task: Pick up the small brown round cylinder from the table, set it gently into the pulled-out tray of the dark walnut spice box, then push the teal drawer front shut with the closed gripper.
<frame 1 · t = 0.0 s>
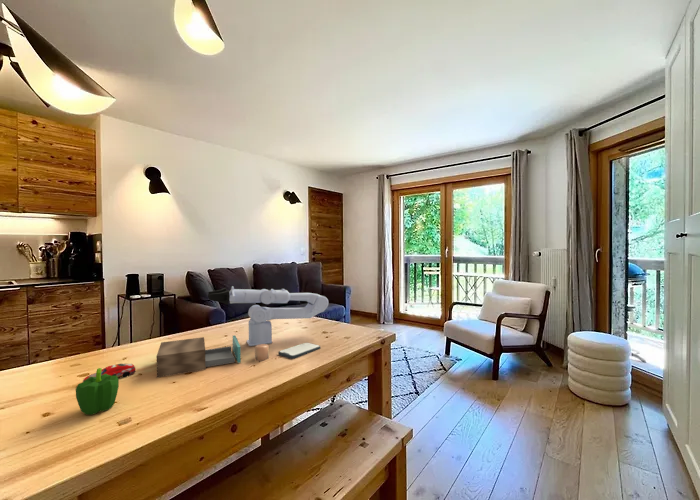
hand: (208, 295, 124), 22 cm above the table, tool horizontal, fingers open, 7 cm apart
spice box: (182, 365, 108), on the table
race car: (110, 380, 97), on the table
phone case: (300, 352, 122), on the table
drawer: (217, 351, 113), point 3 cm above the table, slide at 10.0 cm
brown round cylinder: (261, 358, 114), on the table
bell pepper: (99, 410, 78), on the table
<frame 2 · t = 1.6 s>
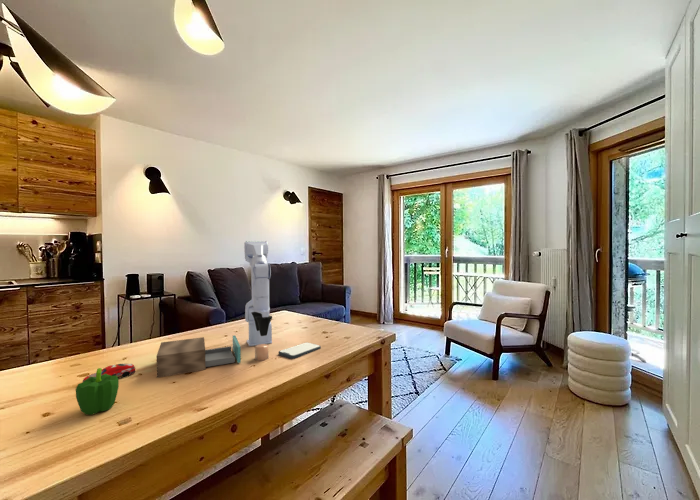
hand: (261, 332, 114), 9 cm above the table, tool pointing down, fingers open, 7 cm apart
nothing on the table moved.
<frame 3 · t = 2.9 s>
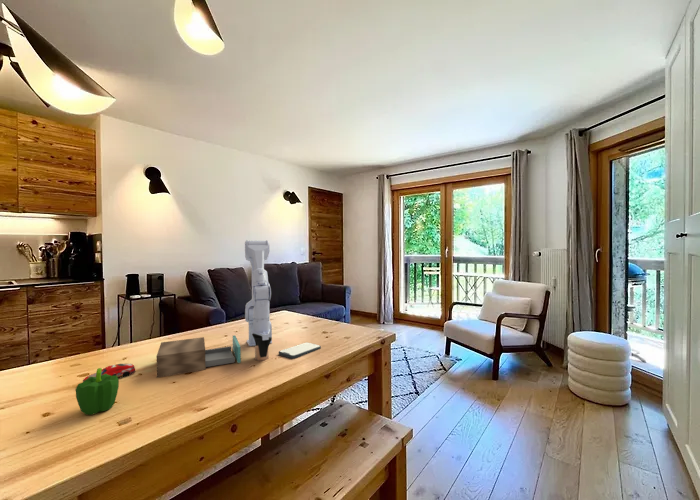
hand: (261, 354, 114), 1 cm above the table, tool pointing down, fingers closed on brown round cylinder, 5 cm apart
brown round cylinder: (261, 358, 114), on the table, touching gripper
everything else where it was.
when the fingers open (4 cm above the table, at t = 7.0 s): brown round cylinder drops 1 cm, resting on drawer.
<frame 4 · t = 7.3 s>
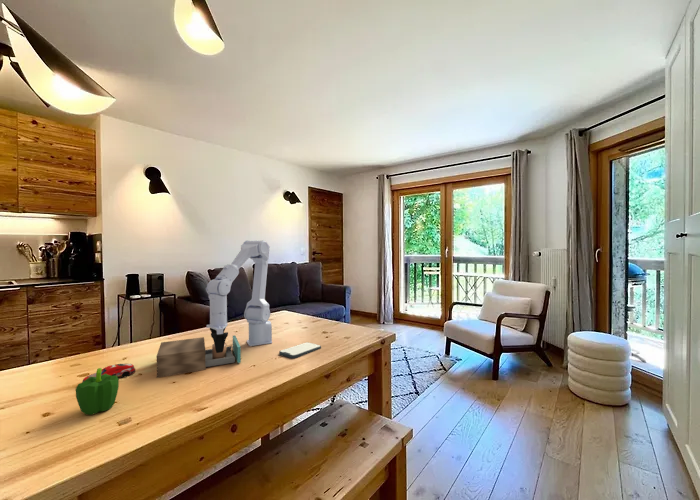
hand: (218, 349, 113), 4 cm above the table, tool pointing down, fingers open, 7 cm apart
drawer: (217, 351, 113), point 3 cm above the table, slide at 10.0 cm, touching brown round cylinder
brown round cylinder: (219, 356, 113), point 1 cm above the table, touching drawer
everything else where it was.
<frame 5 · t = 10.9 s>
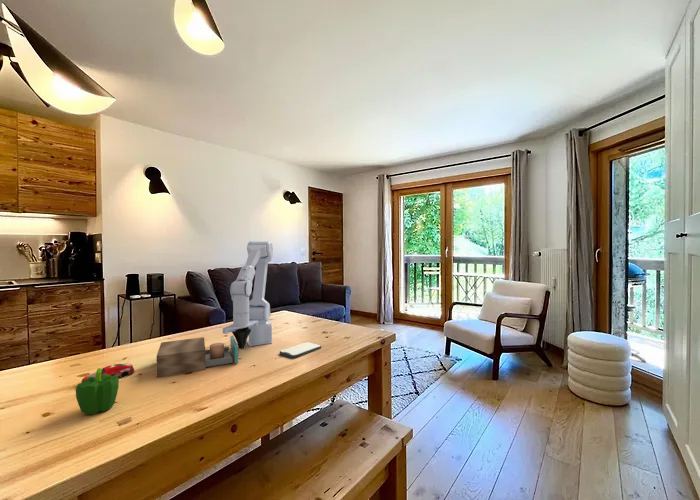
hand: (241, 348, 117), 3 cm above the table, tool pointing down, fingers closed
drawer: (215, 351, 113), point 3 cm above the table, slide at 9.2 cm, touching gripper, brown round cylinder
everything else where it was.
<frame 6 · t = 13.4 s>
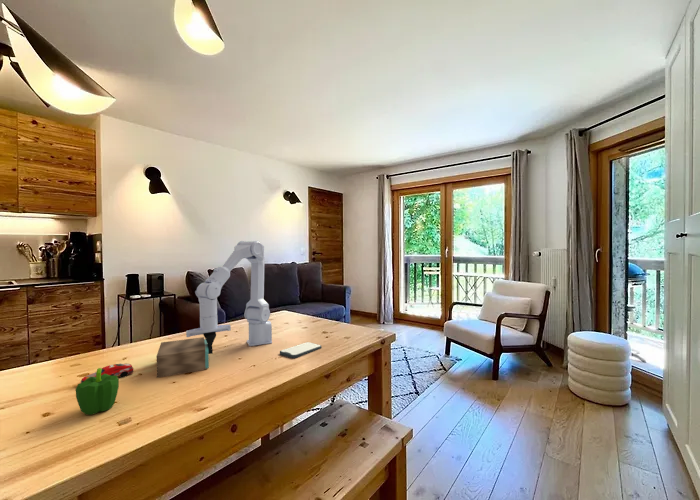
hand: (209, 353, 112), 3 cm above the table, tool pointing down, fingers closed, pressing on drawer
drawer: (186, 355, 108), point 3 cm above the table, slide at -0.3 cm, touching gripper, spice box, brown round cylinder
brown round cylinder: (187, 361, 109), point 1 cm above the table, touching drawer
everything else where it was.
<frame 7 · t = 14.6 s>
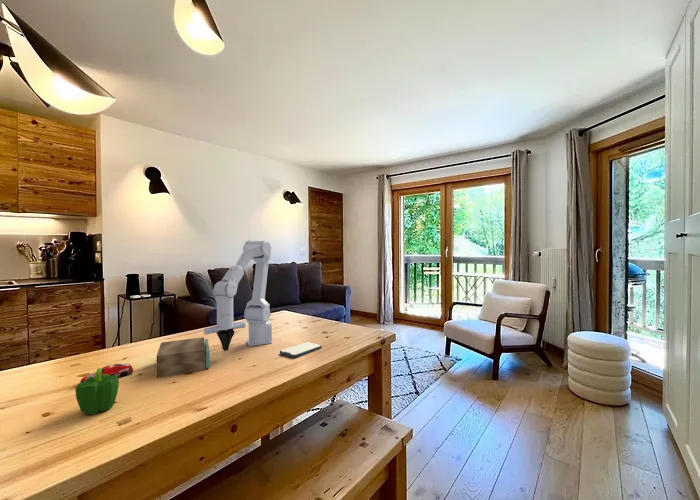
hand: (225, 350, 114), 3 cm above the table, tool pointing down, fingers closed
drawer: (187, 355, 109), point 3 cm above the table, slide at 0.0 cm, touching brown round cylinder
everything else where it was.
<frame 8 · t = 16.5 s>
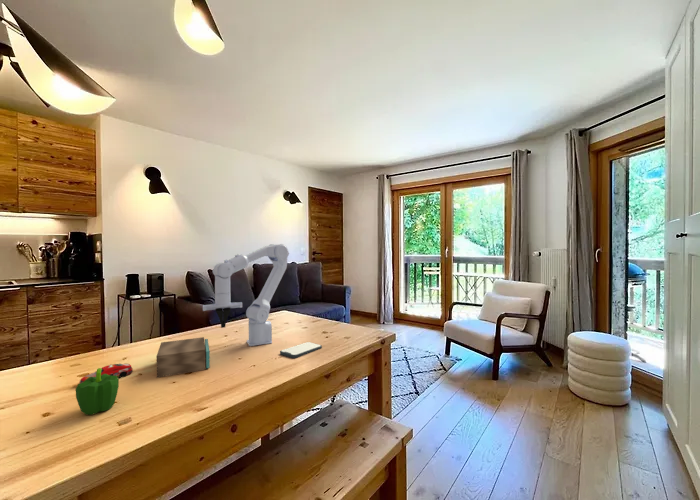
hand: (223, 327, 123), 9 cm above the table, tool pointing down, fingers closed
nothing on the table moved.
at the end: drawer slide at 0.0 cm; brown round cylinder inside the target area on the spice box (1.9 cm from its centre), point 0.9 cm above the spice box's base; brown round cylinder tilted 0° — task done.
